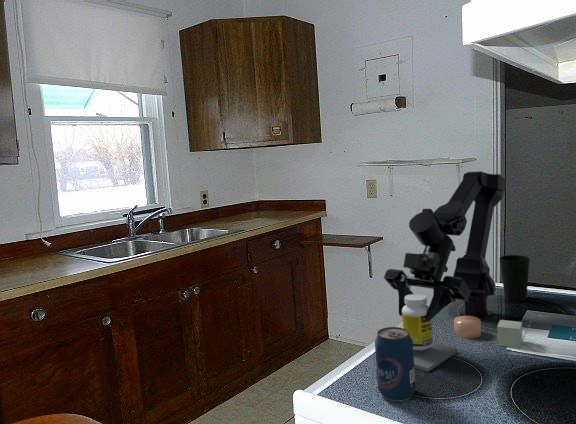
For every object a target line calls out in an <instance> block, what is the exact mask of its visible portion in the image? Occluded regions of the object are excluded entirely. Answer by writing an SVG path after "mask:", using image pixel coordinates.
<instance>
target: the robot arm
mask: <svg viewBox="0 0 576 424" xmlns="http://www.w3.org/2000/svg"><path fill="white" fill-rule="evenodd" d="M462 175H463V176H462V181H461V182H460V184H458V186H457V188H456V190H455V191H454V193H453V194H452V196H451V197H450V199H449V200H448V201H447V203H445V204H443V205H440V206H439V207H437V208H436V209H435V210H434V211H433V210H432V208H422V211H421V212H419V213H417V214H415V215H414V216H413V217H412V218H411V219H410V220H409V223H408V226H409V227H408V228H409V229H410V230H411V232H412V233H413V235H414V237H416V239H417V240H418V242H419V243H420V244H421V245H422V246H424V249H423V252H422V253H412V252H411V253H410V252H405V254H404V260H403V261H404V262H403V268H408V269H409V272H410V274H411V275H413V277H412V276H408V275H407V274H406V273H405V271H404V270H402V269H394V268H389V269H387V270H386V271H385V273H384V275H383V279H384V280H385V281H386V282H387V284H388V285H389V286H390V287H391V288H392V289H394V290H396V291H397V293H398V315H399V316H400V317H402V308H403V307H404V306H405V305H406V304H405V299H404V298H405V296H406V295H410V294H414V293H413V292H412V291H411V287H419V288H425V289H430V290H431V289H433V290H432V291H433V292H432V293H433V295H432V298H431V300H430V304H429V306H428V307H429V308H428V311H427V314H426V318H425V320H426V321H428V322H429V321H430V320H431V321H432V319H434V318H435V317H436V316H437V314H438V313H440V312H441V311H442V310H443V309H444V308H446V307H448V305H449V304H451V303H456V301H458V300H459V301H464V303H463V304H464V310H463V311H462V312H460V313H459V316H473V317H477V318H479V319H480V321H484V320H485V319H487V318H488V317H490V316H492V315H493V314H494V311H492V310H489V309H488V308H489V306H488V305H489V304H488V302H489V301H488V297H489V296H495V292H496V283H495V281H494V279H493V278H492V277H491V275H490V274H491V273H490V272H491V269H490V267H489V265H488V262H487V260H486V254H487V248H488V243H489V238H490V231H491V226H492V220H493V215H494V209H495V207H496V206H497V205H498V204H499V202H501V201H502V199H503V197H504V192H505V191H506V189H507V180H506V178H505V177H503V176H502V175H501V174H500V173H488V172H483V171H481V170H480V171H467V172H465V173H464V174H462ZM473 203H474V207H473V208H474V209H473V212H472V213H473V214H472V217H471V218H472V219H471V225H470V230H469V235H468V241H467V246H466V251H465V254H464V255H463V256H462V257H457V259H456V264H455V269H454V272H453V276H451V275H446V276H444V273H448V270H449V268H448V266H447V263H448V262H449V261H448V260H449V258H450V256H451V252H455V251H456V245H455V244H454V240H453V239H452V238H451V237H450V236H458V237H459V236H461V235H462V234H463V232H464V231H465V229H466V226H467V223H468V221H467V220H468V219H467V218H466V217H467V216H466V215H467V212H468V210H469V209H470V207H471V205H472V204H473ZM443 276H444V277H443ZM442 278H443V279H442Z"/></svg>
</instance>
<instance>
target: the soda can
mask: <svg viewBox="0 0 576 424" xmlns="http://www.w3.org/2000/svg"><path fill="white" fill-rule="evenodd" d="M376 334H377V336H376V338H375V340H374V351H375V353H374V354H375V364H376V378H377V379H376V381H377V389H378V391H379V392H380V394H381V396H382V397H383V398H384V399H386V400H388V401H391V402H405V401H408V400H409V399H411V398H412V397H413V395H414V393H415V392H416V386H417V385H416V372H415V369H416V368H414V353H413V341H412V339H411V337H410V336H409V332H408V331H407V330H406V329H404V328H403V327H398V326H389V327H382V328H380V329H378V331H377V333H376Z"/></svg>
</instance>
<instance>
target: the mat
mask: <svg viewBox="0 0 576 424" xmlns="http://www.w3.org/2000/svg"><path fill="white" fill-rule="evenodd" d="M413 353H414V369H417V370H420V371H423V372H427V373H429V372H430V371H432V370H433V369H435V368H436V367H437V366H439V365H441V364H442V363H443V362H445V361H446V360H448V359H449V358H451V357H452V356H453V355H455V354H456V353H458V349H457V348H456V347H452V346H449V345H444V344H442V343H441V344H440V343H436V342H433V344H432V346H431V347H430V348H428V349H424V350H414V349H413Z"/></svg>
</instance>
